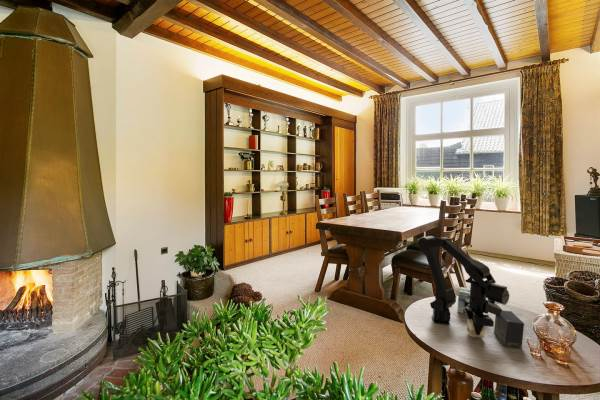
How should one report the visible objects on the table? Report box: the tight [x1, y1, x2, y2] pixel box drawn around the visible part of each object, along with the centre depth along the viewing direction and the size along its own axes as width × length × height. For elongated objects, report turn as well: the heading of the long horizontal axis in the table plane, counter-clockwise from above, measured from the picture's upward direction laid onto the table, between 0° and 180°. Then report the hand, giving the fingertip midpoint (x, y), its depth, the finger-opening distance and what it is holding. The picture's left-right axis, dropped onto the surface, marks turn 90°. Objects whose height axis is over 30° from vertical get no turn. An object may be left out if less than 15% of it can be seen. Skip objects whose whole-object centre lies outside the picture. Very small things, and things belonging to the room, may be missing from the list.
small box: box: [493, 309, 525, 349], centre depth 121 cm, size 11×6×10 cm, turn 168°
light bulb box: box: [456, 286, 470, 315], centre depth 145 cm, size 11×7×11 cm, turn 55°
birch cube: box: [466, 318, 486, 339], centre depth 124 cm, size 5×5×5 cm
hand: (475, 331), depth 124 cm, fingers closed on birch cube, 5 cm apart
